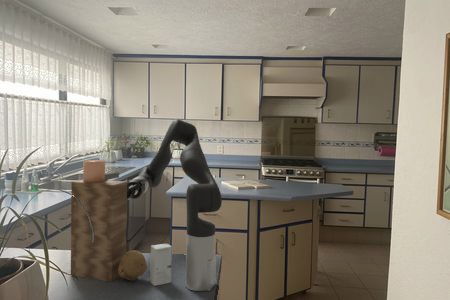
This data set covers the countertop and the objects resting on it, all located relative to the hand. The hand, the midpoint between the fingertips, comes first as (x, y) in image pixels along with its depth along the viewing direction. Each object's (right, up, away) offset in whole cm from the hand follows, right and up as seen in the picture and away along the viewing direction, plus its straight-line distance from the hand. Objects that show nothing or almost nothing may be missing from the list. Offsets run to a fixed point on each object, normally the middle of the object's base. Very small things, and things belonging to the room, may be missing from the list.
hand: (121, 199), depth 132 cm
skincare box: (+18, -25, -16) cm, 35 cm away
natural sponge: (+8, -25, -15) cm, 30 cm away
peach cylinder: (-5, +8, -7) cm, 12 cm away
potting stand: (-5, -24, -11) cm, 27 cm away
